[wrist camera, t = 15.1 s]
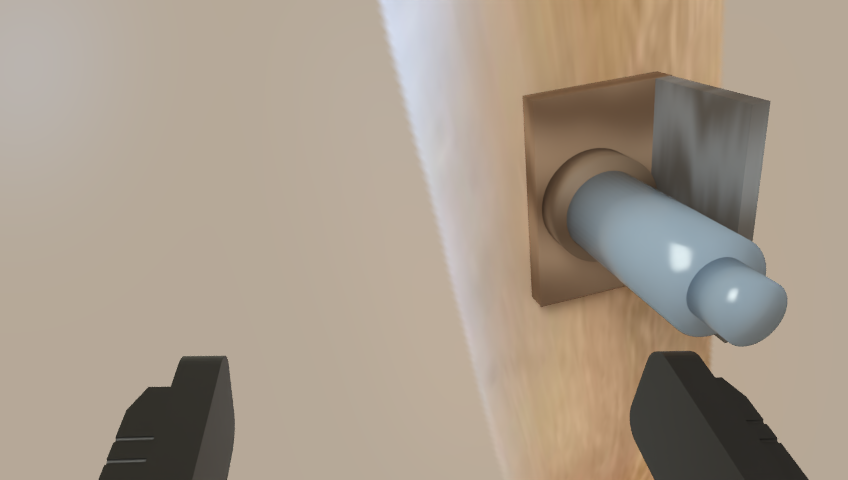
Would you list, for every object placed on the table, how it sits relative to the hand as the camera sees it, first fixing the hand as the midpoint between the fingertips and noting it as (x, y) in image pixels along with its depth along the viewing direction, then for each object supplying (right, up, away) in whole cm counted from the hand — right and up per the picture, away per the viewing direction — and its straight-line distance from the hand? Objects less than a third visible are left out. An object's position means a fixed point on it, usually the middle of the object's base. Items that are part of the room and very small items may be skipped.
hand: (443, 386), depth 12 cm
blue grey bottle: (+11, +5, +25) cm, 28 cm away
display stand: (+11, +6, +29) cm, 31 cm away
